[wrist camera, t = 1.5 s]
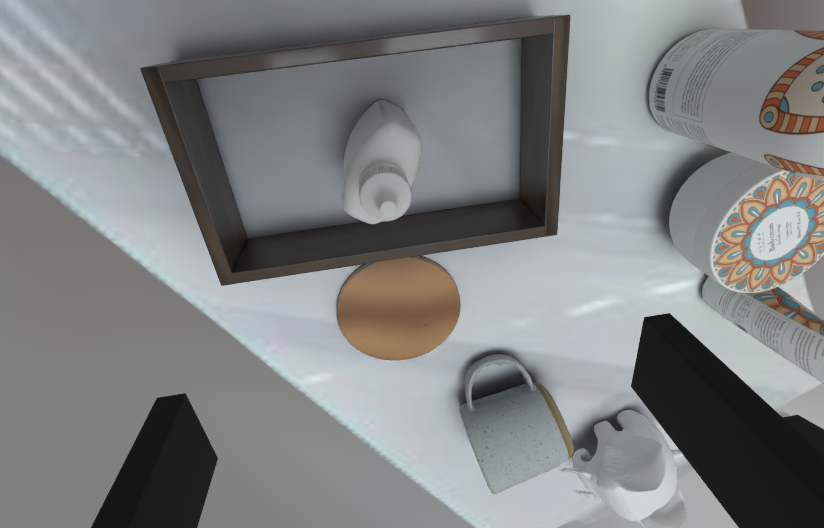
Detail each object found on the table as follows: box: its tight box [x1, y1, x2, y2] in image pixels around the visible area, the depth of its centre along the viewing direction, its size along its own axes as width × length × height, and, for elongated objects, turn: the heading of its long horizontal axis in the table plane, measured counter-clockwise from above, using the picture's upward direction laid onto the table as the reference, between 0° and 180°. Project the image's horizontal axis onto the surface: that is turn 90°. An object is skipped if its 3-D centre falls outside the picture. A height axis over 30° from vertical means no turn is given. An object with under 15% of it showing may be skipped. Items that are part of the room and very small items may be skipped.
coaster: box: [337, 256, 460, 360], centre depth 36 cm, size 10×10×1 cm
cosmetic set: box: [649, 29, 824, 384], centre depth 26 cm, size 25×9×19 cm, turn 27°
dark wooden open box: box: [140, 15, 570, 286], centre depth 27 cm, size 13×22×5 cm, turn 96°
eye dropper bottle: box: [342, 100, 421, 224], centre depth 24 cm, size 4×6×12 cm
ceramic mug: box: [460, 354, 574, 494], centre depth 39 cm, size 11×8×8 cm
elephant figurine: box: [561, 410, 686, 528], centre depth 43 cm, size 10×12×9 cm
